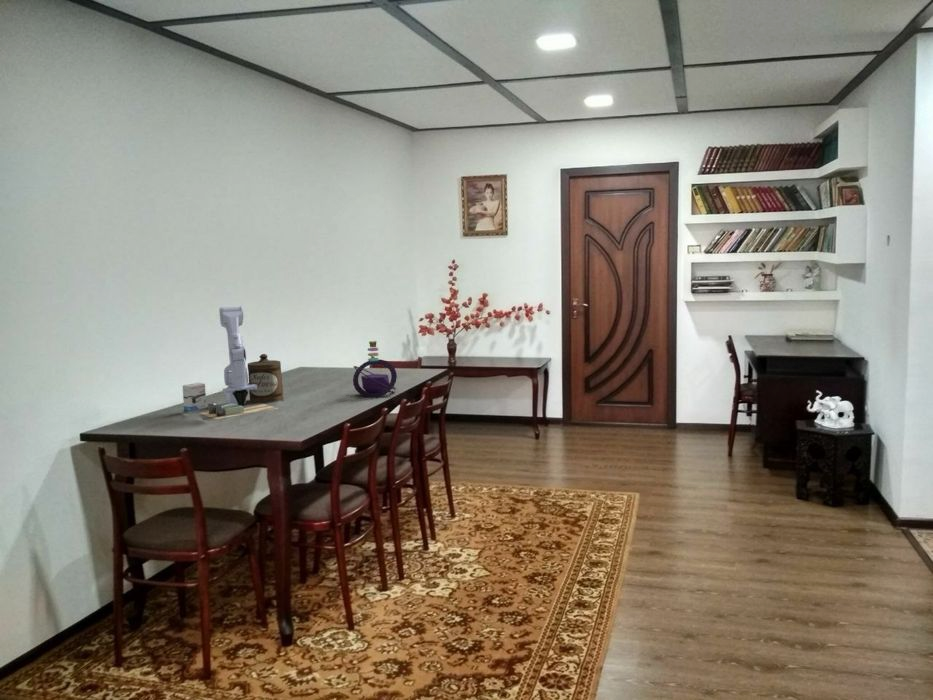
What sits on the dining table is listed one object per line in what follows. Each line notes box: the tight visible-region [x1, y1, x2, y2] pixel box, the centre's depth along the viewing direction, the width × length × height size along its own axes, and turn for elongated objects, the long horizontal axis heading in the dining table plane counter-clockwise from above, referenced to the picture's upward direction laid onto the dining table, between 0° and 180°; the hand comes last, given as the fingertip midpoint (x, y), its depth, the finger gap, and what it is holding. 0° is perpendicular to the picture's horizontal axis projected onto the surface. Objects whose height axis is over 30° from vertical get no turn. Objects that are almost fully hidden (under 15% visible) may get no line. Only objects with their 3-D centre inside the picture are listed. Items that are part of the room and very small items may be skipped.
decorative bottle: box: [352, 340, 398, 399], centre depth 359 cm, size 22×21×25 cm
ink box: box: [182, 382, 208, 412], centre depth 332 cm, size 8×5×12 cm, turn 149°
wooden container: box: [247, 353, 284, 404], centre depth 348 cm, size 15×15×22 cm
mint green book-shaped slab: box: [221, 403, 245, 415], centre depth 322 cm, size 10×8×2 cm
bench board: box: [199, 403, 280, 420], centre depth 325 cm, size 18×28×1 cm, turn 131°
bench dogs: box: [207, 402, 224, 417], centre depth 318 cm, size 11×3×4 cm, turn 41°
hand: (241, 408), depth 325 cm, fingers closed
